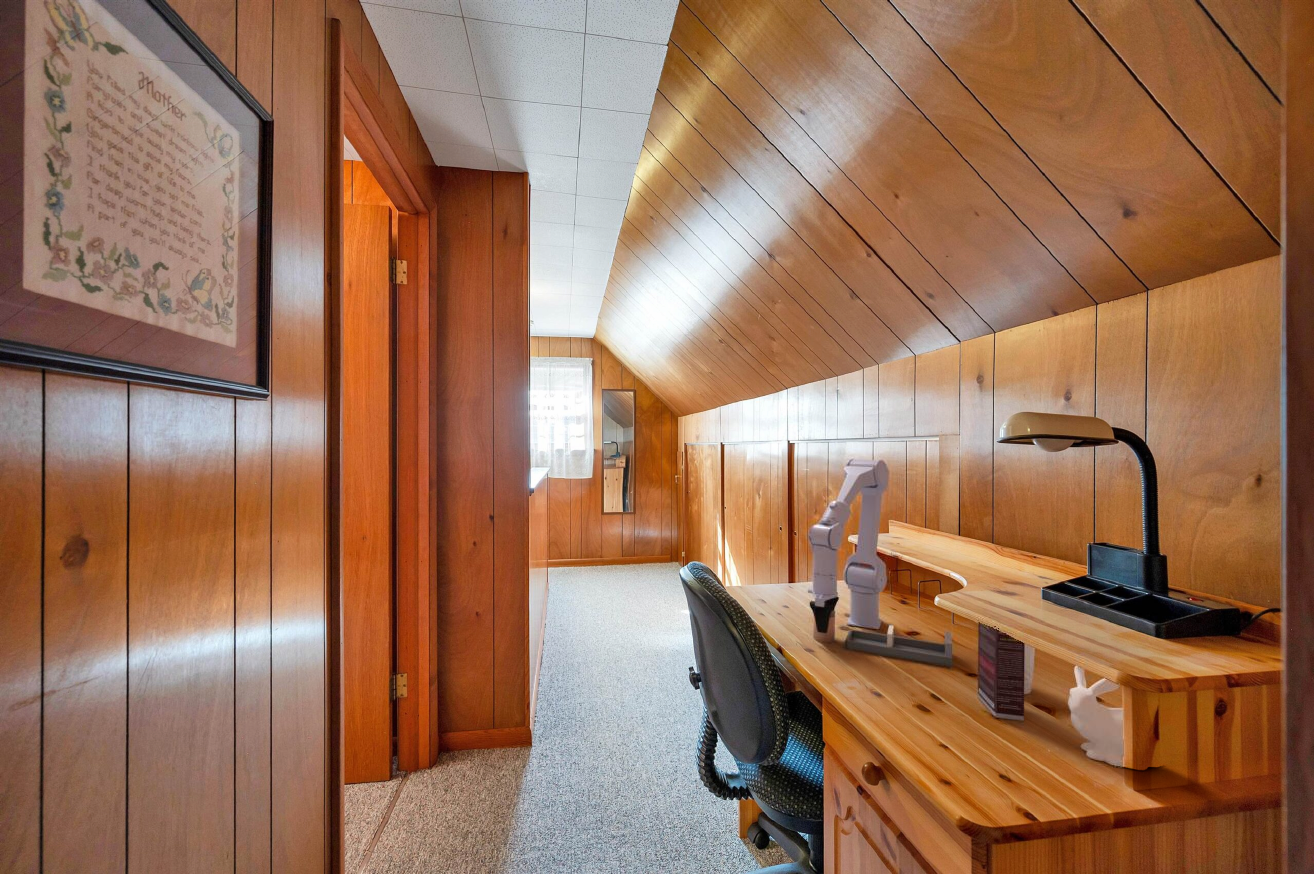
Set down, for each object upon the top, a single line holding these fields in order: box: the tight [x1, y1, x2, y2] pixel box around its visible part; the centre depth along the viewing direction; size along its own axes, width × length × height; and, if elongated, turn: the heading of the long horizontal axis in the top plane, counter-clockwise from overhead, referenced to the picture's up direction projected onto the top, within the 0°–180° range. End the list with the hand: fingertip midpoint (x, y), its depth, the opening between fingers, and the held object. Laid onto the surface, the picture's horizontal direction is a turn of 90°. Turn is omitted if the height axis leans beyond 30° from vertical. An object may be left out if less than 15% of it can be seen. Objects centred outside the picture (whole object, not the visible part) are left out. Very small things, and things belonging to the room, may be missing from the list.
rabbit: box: [1067, 665, 1124, 767], centre depth 83 cm, size 12×9×12 cm
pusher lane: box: [844, 628, 953, 668], centre depth 126 cm, size 9×22×5 cm, turn 63°
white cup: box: [1024, 644, 1036, 695], centre depth 107 cm, size 8×8×10 cm
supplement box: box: [977, 622, 1025, 722], centre depth 98 cm, size 9×5×16 cm, turn 168°
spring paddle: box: [886, 624, 895, 647], centre depth 126 cm, size 7×1×4 cm, turn 153°
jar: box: [812, 609, 836, 644], centre depth 133 cm, size 5×5×7 cm
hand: (824, 629), depth 133 cm, fingers closed on jar, 5 cm apart
